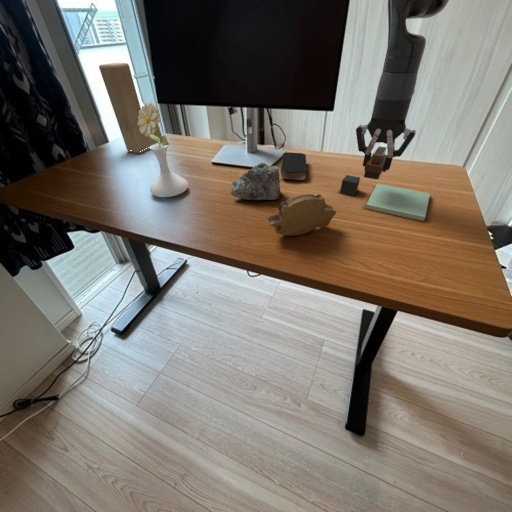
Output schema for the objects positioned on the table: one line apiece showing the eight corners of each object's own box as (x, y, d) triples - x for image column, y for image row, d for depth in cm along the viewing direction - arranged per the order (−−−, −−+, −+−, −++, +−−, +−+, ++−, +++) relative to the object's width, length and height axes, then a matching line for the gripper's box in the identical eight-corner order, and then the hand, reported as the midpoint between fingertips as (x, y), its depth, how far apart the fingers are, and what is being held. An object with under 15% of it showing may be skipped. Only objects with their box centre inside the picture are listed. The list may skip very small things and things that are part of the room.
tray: (428, 197, 75) (430, 193, 74) (423, 221, 66) (425, 217, 65) (376, 187, 81) (377, 183, 80) (365, 208, 72) (366, 204, 71)
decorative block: (141, 154, 110) (113, 65, 91) (127, 152, 113) (97, 65, 93) (164, 142, 121) (143, 60, 101) (150, 141, 123) (128, 60, 104)
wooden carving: (324, 219, 68) (329, 182, 62) (334, 228, 65) (341, 190, 59) (264, 235, 64) (264, 197, 57) (273, 246, 61) (273, 207, 54)
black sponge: (282, 162, 98) (282, 152, 96) (305, 162, 97) (306, 152, 95) (279, 181, 86) (279, 170, 84) (306, 182, 85) (307, 171, 83)
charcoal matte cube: (360, 177, 77) (346, 174, 79) (356, 182, 74) (342, 180, 76) (357, 190, 80) (344, 187, 81) (353, 195, 77) (339, 192, 79)
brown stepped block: (378, 180, 68) (384, 157, 65) (362, 177, 70) (367, 155, 66) (385, 167, 74) (391, 146, 70) (370, 165, 76) (375, 144, 72)
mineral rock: (229, 200, 78) (226, 166, 71) (247, 185, 85) (245, 153, 78) (270, 209, 73) (270, 174, 66) (285, 192, 80) (286, 159, 74)
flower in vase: (147, 190, 85) (118, 100, 68) (181, 180, 89) (161, 94, 73) (159, 207, 76) (129, 108, 60) (197, 195, 80) (178, 101, 64)
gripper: (357, 96, 61) (344, 170, 72) (427, 100, 55) (402, 179, 66) (365, 91, 66) (352, 160, 77) (431, 93, 60) (406, 168, 71)
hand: (375, 169), depth 71 cm, fingers closed on brown stepped block, 4 cm apart
